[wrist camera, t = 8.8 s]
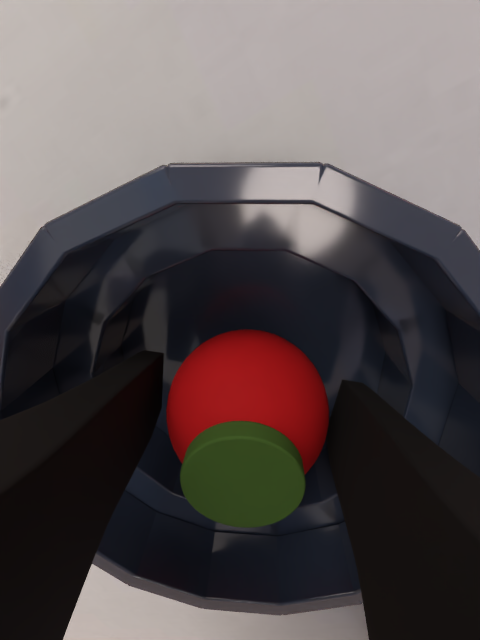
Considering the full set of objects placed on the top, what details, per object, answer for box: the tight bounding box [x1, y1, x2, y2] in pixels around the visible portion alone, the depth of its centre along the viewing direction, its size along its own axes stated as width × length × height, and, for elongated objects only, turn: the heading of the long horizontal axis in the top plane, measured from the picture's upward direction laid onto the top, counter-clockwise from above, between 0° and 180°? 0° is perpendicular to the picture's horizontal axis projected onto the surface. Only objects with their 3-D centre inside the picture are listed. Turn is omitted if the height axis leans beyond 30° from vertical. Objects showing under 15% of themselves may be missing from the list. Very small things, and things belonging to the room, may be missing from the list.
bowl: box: [0, 162, 480, 615], centre depth 9 cm, size 12×12×4 cm
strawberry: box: [166, 329, 329, 528], centre depth 8 cm, size 4×4×5 cm
